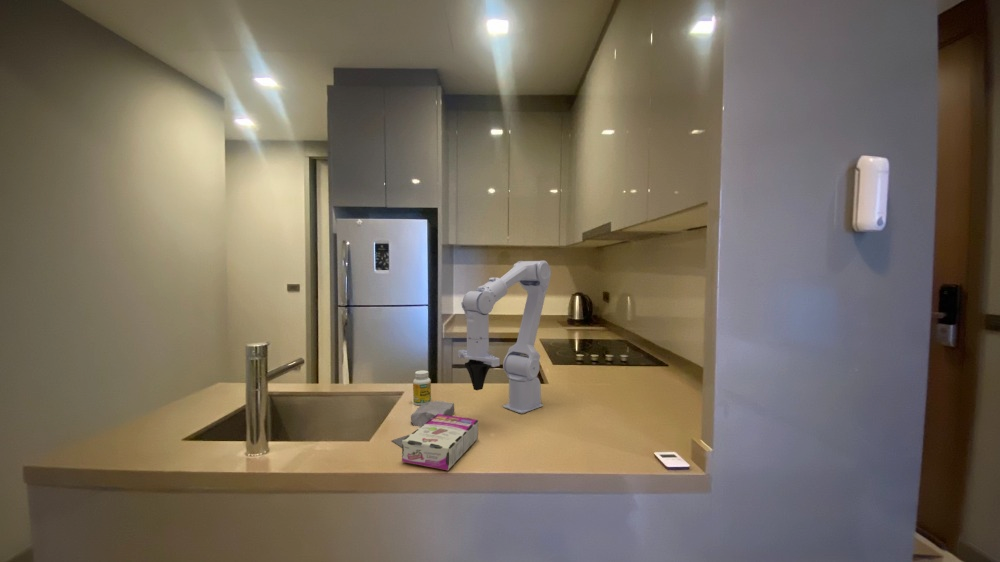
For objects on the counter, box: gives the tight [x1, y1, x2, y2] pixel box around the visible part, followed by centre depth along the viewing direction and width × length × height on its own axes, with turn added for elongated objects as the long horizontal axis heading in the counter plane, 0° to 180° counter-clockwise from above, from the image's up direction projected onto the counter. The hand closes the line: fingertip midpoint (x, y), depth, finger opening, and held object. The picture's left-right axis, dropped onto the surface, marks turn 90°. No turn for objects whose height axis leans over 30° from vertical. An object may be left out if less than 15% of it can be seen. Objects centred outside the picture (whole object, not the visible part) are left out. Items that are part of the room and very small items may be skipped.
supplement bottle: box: [412, 370, 432, 406], centre depth 122 cm, size 5×5×10 cm
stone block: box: [410, 400, 455, 428], centre depth 110 cm, size 12×5×10 cm
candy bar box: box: [401, 414, 479, 471], centre depth 90 cm, size 11×5×16 cm
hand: (478, 389), depth 104 cm, fingers closed
